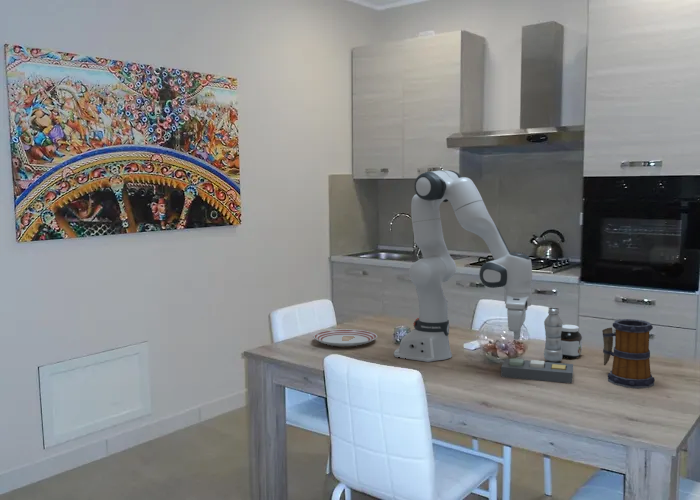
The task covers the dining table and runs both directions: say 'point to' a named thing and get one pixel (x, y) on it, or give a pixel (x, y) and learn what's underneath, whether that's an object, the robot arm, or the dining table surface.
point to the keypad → (538, 372)
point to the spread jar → (571, 341)
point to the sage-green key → (516, 362)
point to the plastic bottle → (553, 336)
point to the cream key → (537, 364)
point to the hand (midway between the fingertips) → (516, 338)
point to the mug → (629, 353)
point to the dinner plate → (336, 335)
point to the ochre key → (559, 367)
